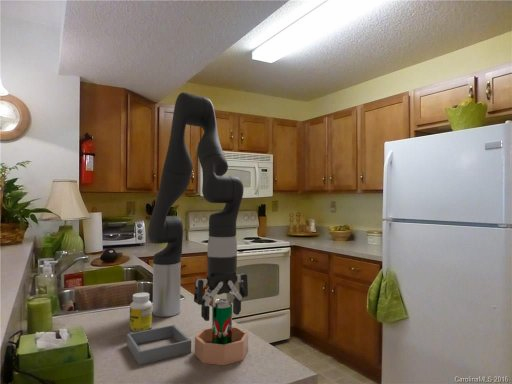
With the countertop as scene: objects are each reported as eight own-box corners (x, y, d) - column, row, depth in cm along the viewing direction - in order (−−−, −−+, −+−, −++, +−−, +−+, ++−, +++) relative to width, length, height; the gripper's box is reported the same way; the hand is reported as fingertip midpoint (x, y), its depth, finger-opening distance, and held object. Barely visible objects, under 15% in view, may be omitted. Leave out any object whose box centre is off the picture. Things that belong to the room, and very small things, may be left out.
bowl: (189, 349, 90) (189, 331, 91) (231, 339, 97) (231, 322, 97) (209, 369, 80) (209, 349, 80) (255, 356, 87) (256, 338, 87)
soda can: (232, 344, 91) (232, 298, 91) (231, 352, 86) (231, 304, 86) (213, 344, 91) (213, 298, 91) (211, 353, 86) (211, 304, 86)
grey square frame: (126, 345, 93) (126, 334, 93) (173, 335, 100) (174, 324, 100) (139, 365, 82) (139, 352, 82) (191, 352, 89) (191, 340, 89)
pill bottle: (125, 332, 102) (125, 294, 102) (144, 326, 106) (145, 290, 107) (136, 338, 98) (136, 298, 98) (155, 332, 102) (156, 294, 102)
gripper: (239, 249, 96) (238, 308, 96) (190, 253, 88) (189, 317, 88) (253, 253, 90) (252, 316, 89) (202, 258, 82) (201, 327, 82)
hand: (221, 316), depth 89 cm, fingers open, 8 cm apart
